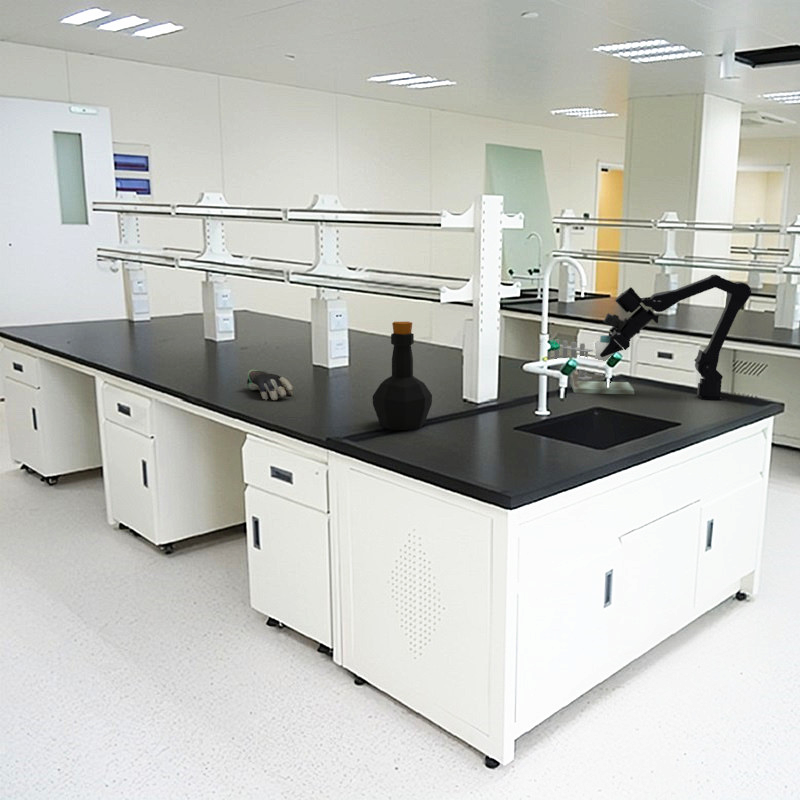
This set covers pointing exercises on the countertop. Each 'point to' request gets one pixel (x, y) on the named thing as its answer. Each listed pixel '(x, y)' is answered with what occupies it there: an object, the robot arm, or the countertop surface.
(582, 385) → the shelf board
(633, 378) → the countertop surface
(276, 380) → the glove
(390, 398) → the bottle
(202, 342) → the countertop surface
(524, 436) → the countertop surface
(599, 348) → the white bottle
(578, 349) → the test tube rack
